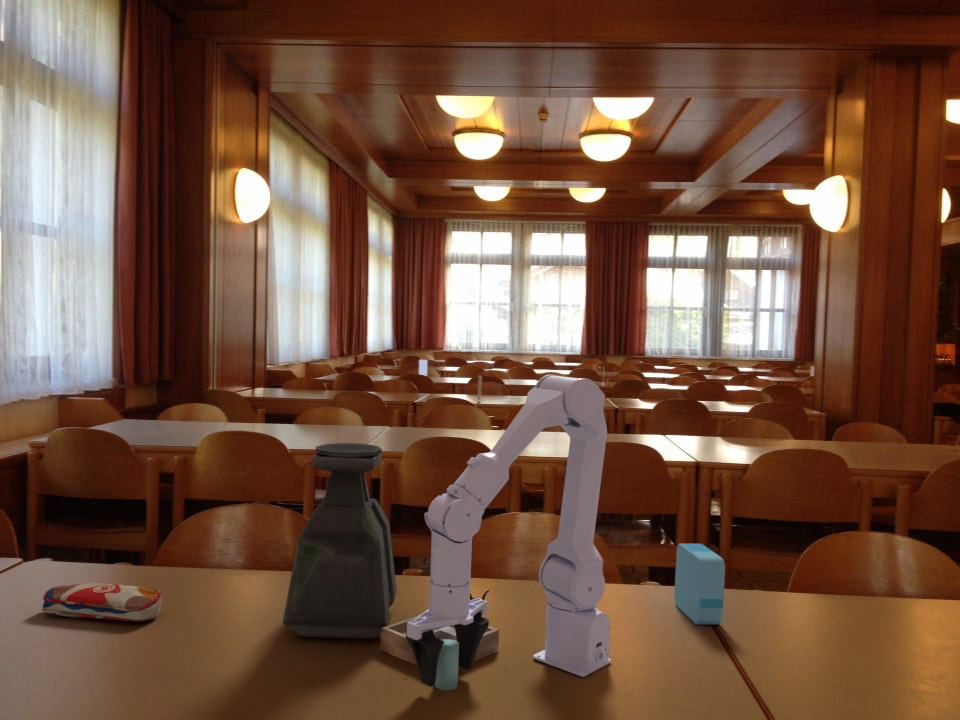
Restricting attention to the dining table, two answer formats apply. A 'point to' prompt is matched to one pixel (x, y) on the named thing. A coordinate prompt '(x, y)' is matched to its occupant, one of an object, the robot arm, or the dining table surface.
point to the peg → (448, 666)
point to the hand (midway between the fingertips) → (446, 675)
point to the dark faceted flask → (343, 554)
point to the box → (399, 646)
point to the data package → (699, 583)
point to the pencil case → (103, 601)
